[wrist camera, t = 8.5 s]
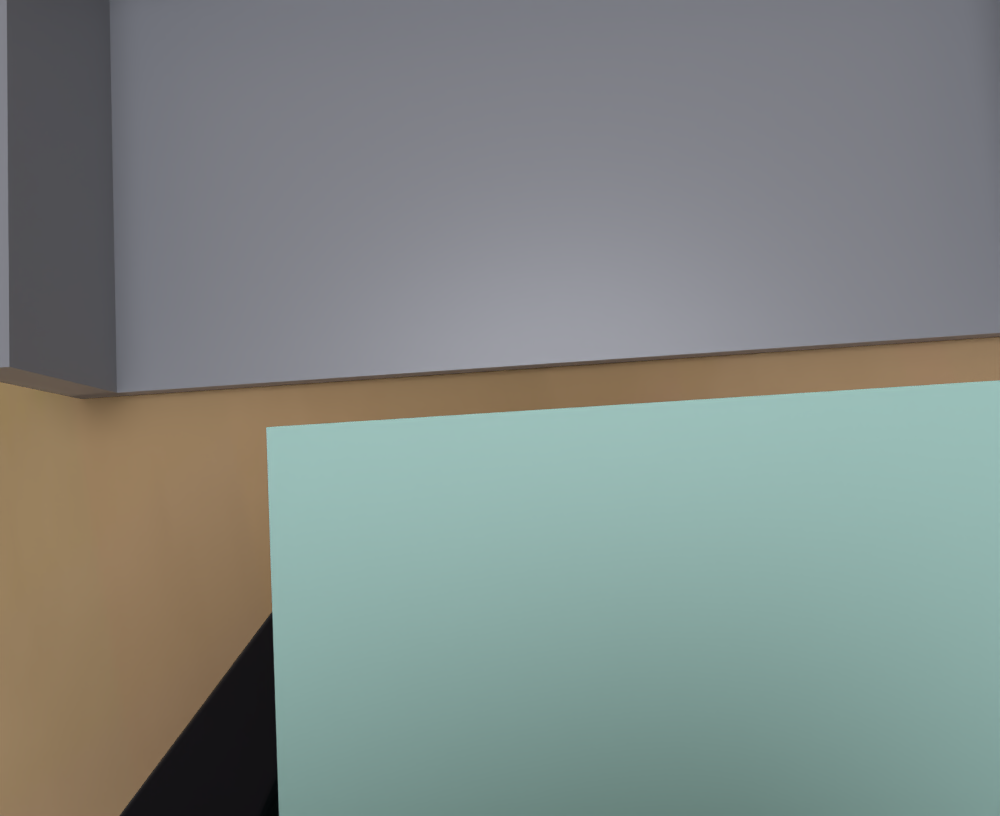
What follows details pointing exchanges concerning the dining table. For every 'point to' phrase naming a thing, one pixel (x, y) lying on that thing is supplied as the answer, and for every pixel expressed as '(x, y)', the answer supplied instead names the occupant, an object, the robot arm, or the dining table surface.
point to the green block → (643, 609)
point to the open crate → (485, 185)
